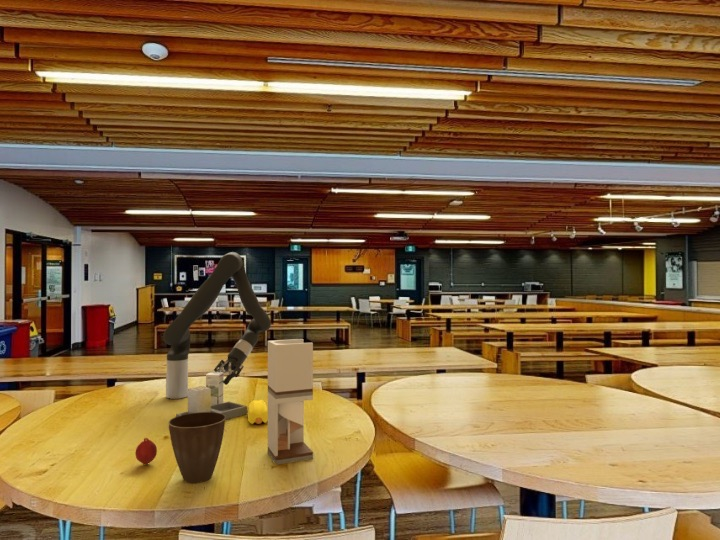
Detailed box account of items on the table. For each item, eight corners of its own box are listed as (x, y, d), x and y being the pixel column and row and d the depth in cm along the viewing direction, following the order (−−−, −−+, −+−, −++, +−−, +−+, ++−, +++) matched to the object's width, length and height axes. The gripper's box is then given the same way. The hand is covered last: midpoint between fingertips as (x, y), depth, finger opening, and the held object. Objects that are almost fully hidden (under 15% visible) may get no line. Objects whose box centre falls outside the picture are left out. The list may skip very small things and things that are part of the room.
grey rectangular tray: (176, 422, 183) (176, 414, 183) (228, 408, 201) (228, 401, 201) (194, 428, 175) (194, 420, 175) (247, 413, 194) (247, 406, 194)
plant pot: (155, 484, 128) (155, 423, 128) (193, 464, 142) (193, 409, 142) (201, 493, 122) (201, 430, 123) (236, 471, 136) (236, 414, 137)
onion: (139, 461, 144) (139, 434, 144) (159, 460, 144) (159, 433, 145) (132, 468, 138) (132, 440, 138) (152, 468, 139) (153, 440, 139)
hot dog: (248, 427, 177) (269, 425, 179) (248, 409, 177) (269, 407, 179) (247, 414, 195) (266, 412, 196) (247, 397, 195) (266, 396, 197)
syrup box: (223, 405, 207) (224, 371, 207) (218, 409, 201) (218, 374, 201) (211, 405, 207) (211, 371, 208) (205, 408, 201) (205, 374, 202)
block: (187, 420, 183) (187, 388, 183) (201, 416, 188) (201, 386, 188) (196, 423, 179) (196, 391, 180) (210, 419, 184) (210, 388, 184)
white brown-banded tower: (275, 464, 141) (275, 345, 142) (267, 452, 151) (267, 340, 151) (312, 458, 146) (312, 342, 146) (302, 447, 155) (302, 338, 156)
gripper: (225, 345, 217) (203, 375, 208) (245, 348, 208) (223, 379, 199) (235, 355, 221) (213, 385, 212) (255, 359, 213) (234, 389, 203)
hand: (218, 382), depth 206 cm, fingers open, 8 cm apart
